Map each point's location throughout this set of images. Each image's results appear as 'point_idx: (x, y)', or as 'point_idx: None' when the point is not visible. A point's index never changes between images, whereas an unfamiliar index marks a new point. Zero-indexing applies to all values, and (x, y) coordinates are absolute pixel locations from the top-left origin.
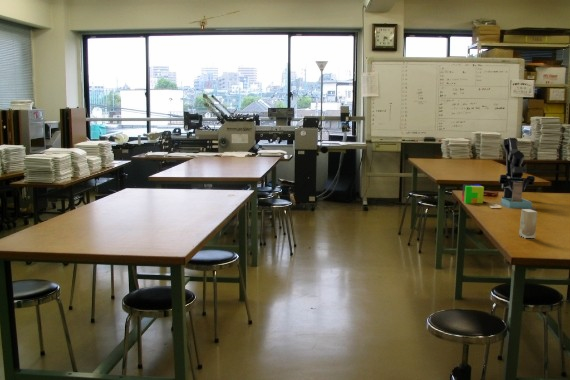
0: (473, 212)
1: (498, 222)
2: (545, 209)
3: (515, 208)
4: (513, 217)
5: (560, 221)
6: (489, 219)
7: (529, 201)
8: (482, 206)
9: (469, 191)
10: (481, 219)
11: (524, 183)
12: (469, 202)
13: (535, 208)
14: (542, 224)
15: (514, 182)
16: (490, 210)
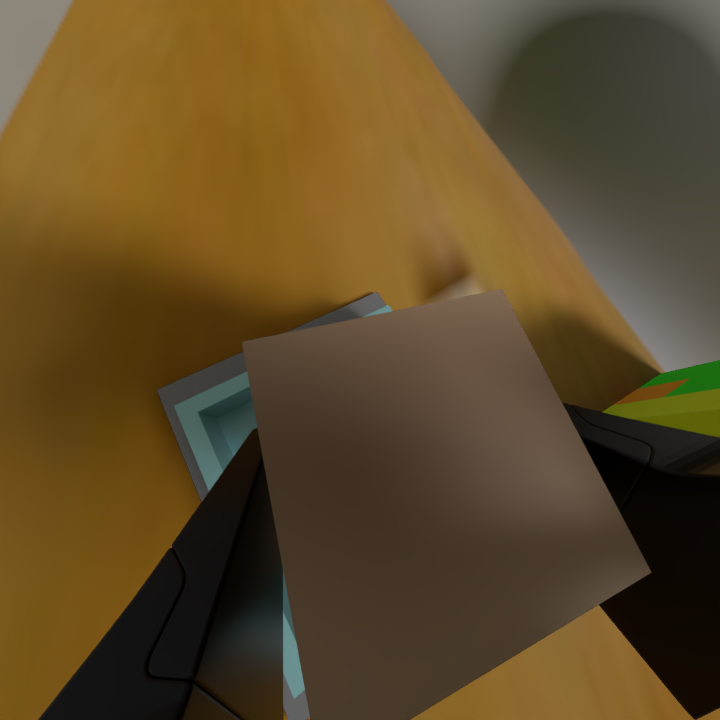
0: (489, 141)
1: (348, 20)
2: (61, 453)
3: (331, 314)
4: (309, 97)
5: (65, 72)
6: (389, 50)
7: (202, 443)
8: (534, 312)
9: None
10: (413, 46)
11: (144, 678)
12: (653, 381)
13: (166, 405)
14: (179, 16)
15: (588, 544)
16: (449, 211)
